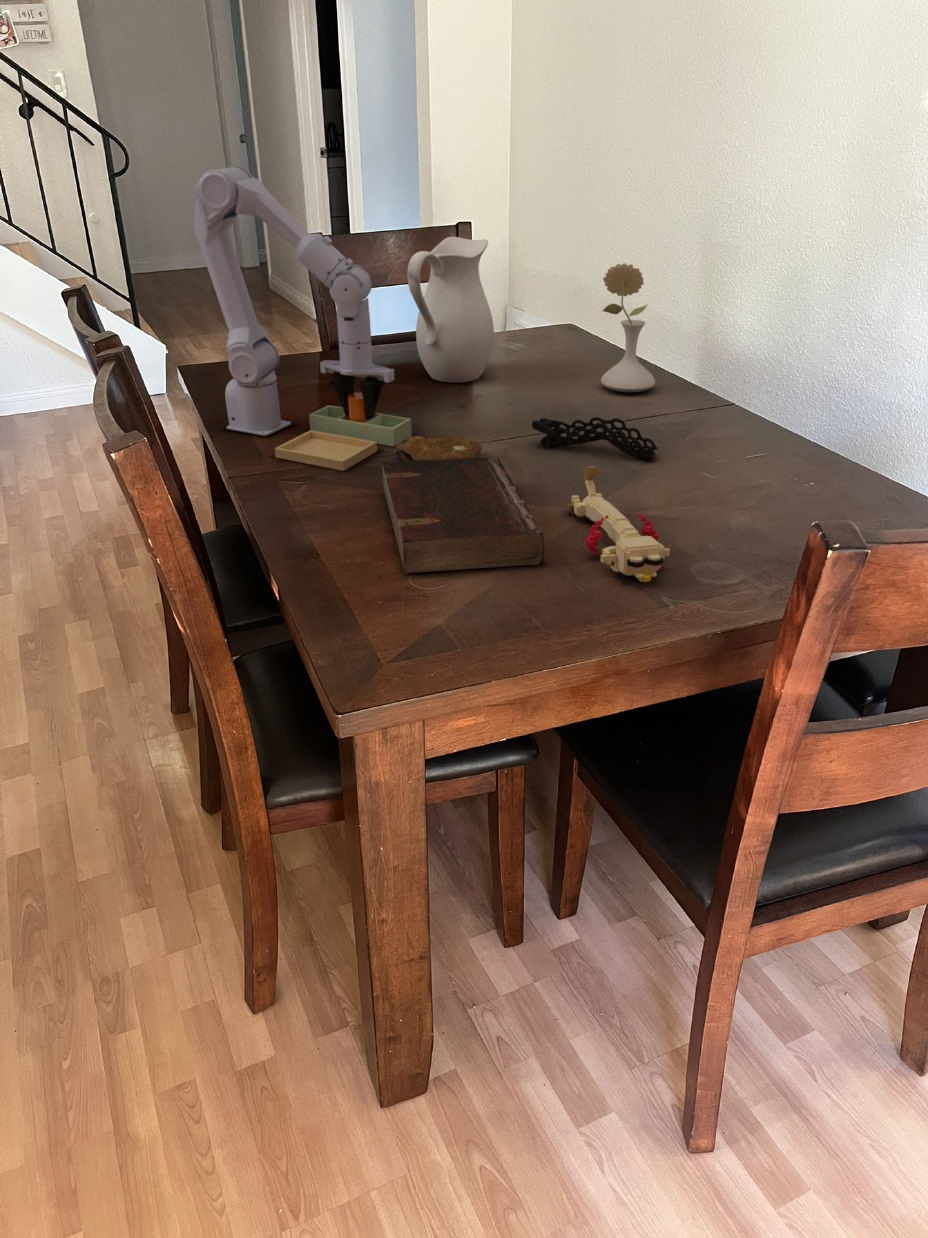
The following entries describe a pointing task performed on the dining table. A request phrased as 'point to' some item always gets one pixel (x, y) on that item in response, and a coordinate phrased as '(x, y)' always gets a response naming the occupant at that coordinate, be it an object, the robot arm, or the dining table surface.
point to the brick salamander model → (619, 535)
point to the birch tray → (326, 450)
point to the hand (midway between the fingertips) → (359, 415)
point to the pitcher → (452, 311)
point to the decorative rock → (437, 448)
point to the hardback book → (459, 515)
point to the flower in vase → (627, 333)
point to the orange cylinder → (356, 408)
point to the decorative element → (558, 440)
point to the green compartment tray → (361, 426)
